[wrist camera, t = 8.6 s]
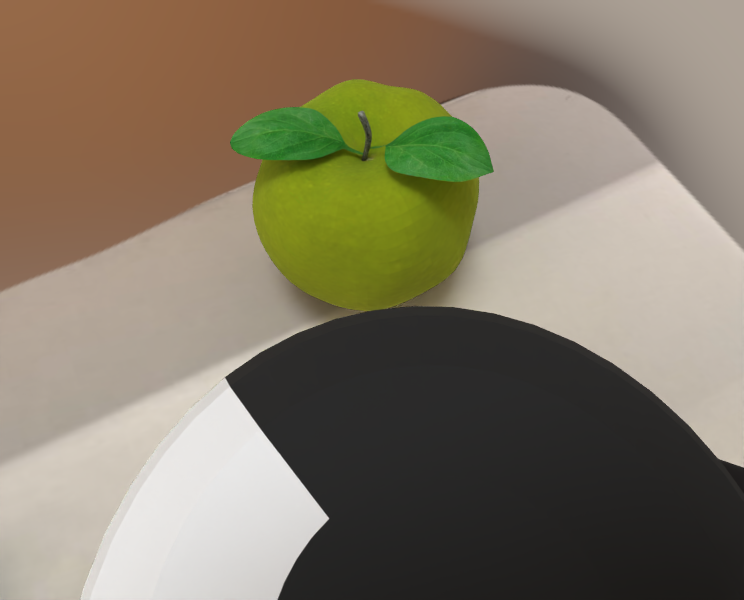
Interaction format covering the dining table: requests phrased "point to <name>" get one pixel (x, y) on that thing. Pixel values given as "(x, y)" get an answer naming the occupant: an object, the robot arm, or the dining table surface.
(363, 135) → the fruit
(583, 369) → the medicine bottle
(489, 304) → the dining table surface
